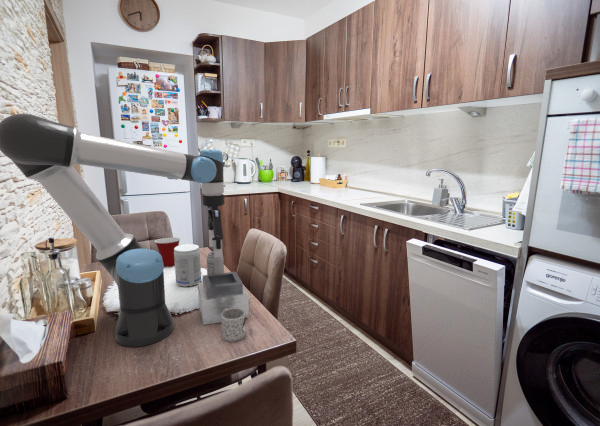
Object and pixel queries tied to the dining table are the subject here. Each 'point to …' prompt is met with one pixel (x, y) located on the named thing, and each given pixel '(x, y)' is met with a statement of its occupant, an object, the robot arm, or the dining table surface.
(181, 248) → the supplement tub
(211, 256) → the energy drink can
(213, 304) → the block
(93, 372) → the dining table surface
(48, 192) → the robot arm
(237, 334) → the mug
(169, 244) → the plastic cup
